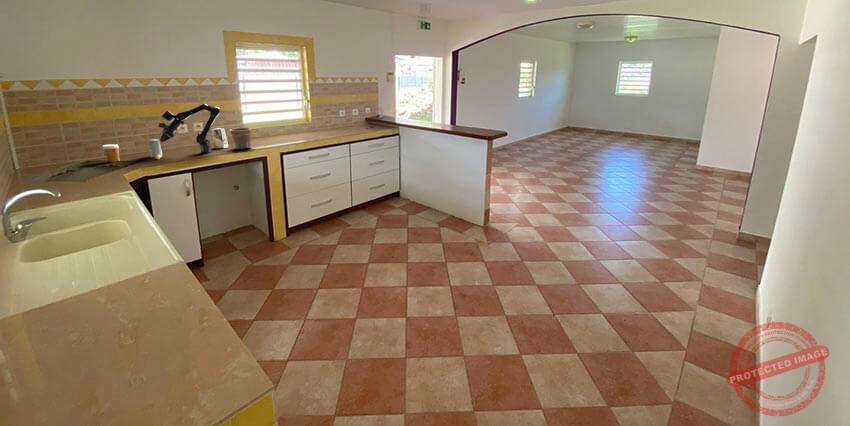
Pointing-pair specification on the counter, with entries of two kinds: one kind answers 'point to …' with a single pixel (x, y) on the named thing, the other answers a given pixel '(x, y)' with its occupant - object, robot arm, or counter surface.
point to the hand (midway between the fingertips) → (160, 141)
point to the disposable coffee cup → (112, 152)
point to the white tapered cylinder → (155, 147)
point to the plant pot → (241, 137)
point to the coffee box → (219, 138)
